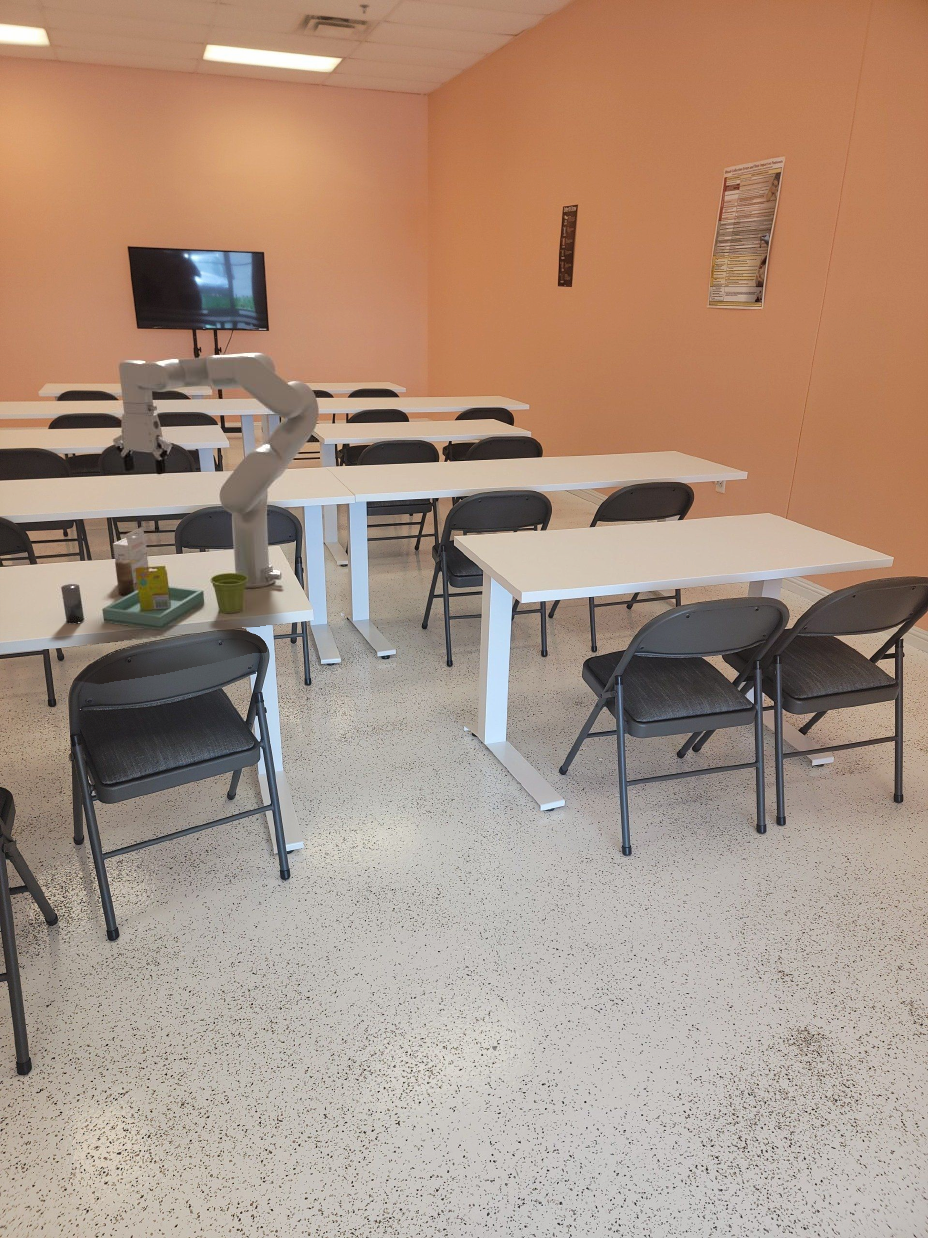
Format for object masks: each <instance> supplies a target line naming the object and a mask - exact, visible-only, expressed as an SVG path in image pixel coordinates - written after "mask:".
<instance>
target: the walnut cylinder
mask: <svg viewBox="0 0 928 1238" xmlns="http://www.w3.org/2000/svg"><path fill="white" fill-rule="evenodd" d="M114 564H115V571H116V572H115V573H116V581H117V587H118V589H117V591H118V595H119V596H121V597H125V596H127V595H129V594H131V593H133V592H135V591H136V590H135V584H134V582H133V573H132V565H131V561H130V560H118V561H116V562H114Z"/></svg>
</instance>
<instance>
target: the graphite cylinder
mask: <svg viewBox="0 0 928 1238" xmlns="http://www.w3.org/2000/svg"><path fill="white" fill-rule="evenodd" d="M60 588H61V589H60V590H61V595H62V596H61V597H62V600H63V608H64V615H65V621H66V623H67V624H69V623H76V624H79V623H78V622H81V623H83V622H84V621H85V617H84V609H83V603H82V596H81V589H80V585H79V584H76V583H68V584H65V585H61V587H60ZM83 620H84V621H83ZM82 621H83V622H82Z"/></svg>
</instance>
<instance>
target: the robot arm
mask: <svg viewBox="0 0 928 1238" xmlns="http://www.w3.org/2000/svg"><path fill="white" fill-rule="evenodd" d="M118 372H119V381H120V388H121V390H120V391H121V400H122V407H123V413H122V416H121V423H120V424H121V434H120V435H119V436H116V437H115V438H113V439H112V442H113V444H114V446H115V447H116V450H117V451H118V452H119V453H120V456H121V457H122V458H123V466H124V471H125V472H130V471H133V470H135V465H134V463H135V462H134V456H133V454H132V453H133V452H140V453H141V452H143V453H152V455H154V457H155V458H156V459H155V470H156V471H155V472H156V475H159V476H161V475H162V474H165V473H166V460H165V459H166V458H167V457H168V455H169V454H170V452H171V449H172V447H173V444H172V443H171V442H170V441H168V440H167V439H165V438H163V433H162V432H163V431H162V427H161V423H160V419H159V416H158V414H157V413H155V411H157V410H158V406H157V405H154V401H153V400H154V399H153V392H160V393H161V392H162V393H163V392H164V393H165V392H167V391H171V390H175V389H180V388H181V389H183V388H193V387H194V388H196V387H209V388H211V389H214V390H226V389H227V390H228V389H229V390H230V389H240V388H242V389H243V390H244V391H245V392H246V393H247V394H249V395H250V396H251V397H252V398H254V399H255V400H257V401H258V402H259V403H260V404H261V405H263V406H264V407H265V408H266V409H268V410H269V411H270V412H271V413H273V414H274V415H276V416H278V417H280V418H283V419H282V420H281V421H280V423H278V425H277V426H276V427H275V428H274V430H273V431H272V433H271V434H270V435H269V436H268V438H266V440H265V441H264V442H263V443H262V444H261V445H259V446H257V447H256V448H254V449H253V450H251V451H250V452H248V453H247V455H245V456H244V457H243V459H242V460H241V461H240V462H239V464H238V465H237V467H236V468H235V469H234V470H233V472H231V474H230V475H229V477H227V479H226V480H225V482H224V483H222V486H221V487H220V489H219V501H220V504H221V506H222V508H223V509H224V510H226V512H228V513H229V514H231V526H232V543H233V556H234V559H233V560H234V570H235V571H234V573H238V574H243V575H245V576H247V577H248V581H247V582H246V586H245V589H246V588H247V589H255V588H256V589H257V588H262V587H267V586H270V585H272V584H273V583H275V581H276V580H277V581H281V579H282V578H283V577H282V575H283V574H282V571H280V570H274V569H273V565H272V564H270V558H269V557H270V556H269V555H270V554H269V540H268V539H269V538H268V537H269V536H268V512H267V511H268V496H269V494H268V493H269V492H268V490H269V488H270V487H271V486H272V484H273V483H274V482H275V481H276V480H278V479H279V478H280V477H281V476H282V475H283V474H284V473H285V471H286V470H287V468H288V467H289V465H290V464H291V463H292V462H293V460H294V459H295V458H296V457H297V455H298V454H299V453H300V451H301V450H302V449H303V447H304V446H305V444H306V443H307V441H308V440H309V439H310V438H311V436H312V434H313V433H314V431H315V429H316V426H317V424H318V421H319V420H318V419H319V410H320V409H319V403H318V400H317V397H316V394H315V393H314V391H313V389H312V388H311V387H310V386H309V385H308V384H306V383H305V382H302V381H300V380H299V381H297V380H296V381H295V380H294V381H293V380H292V381H289V382H287V381H285V379H283V378H282V377H281V376H280V375H278V374H276V367H275V363H274V361H273V360H272V358H271V357H269V355H267V354H265V353H261V352H249V353H247V352H245V353H236V354H233V353H232V354H216V355H209V356H205V357H204V356H203V357H191V358H189V357H187V358H175V359H165V360H161V361H160V360H159V361H151V362H146V361H144V360H138V359H137V360H135V359H134V360H133V359H129V360H128V359H125V360H122V361H120V362H119V364H118Z"/></svg>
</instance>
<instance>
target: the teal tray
mask: <svg viewBox="0 0 928 1238" xmlns="http://www.w3.org/2000/svg"><path fill="white" fill-rule="evenodd" d="M169 594H170V602H171V608H170V609H156V610H144V611H141V610H140V602H139V594H138V589H137V590H135V592H133V593H131V594H129V595H127V596H123V597H122V598H120V599H118V600H116V601H115V602H112V603H110V604H109V605H107V606H105V607H103V608H102V609H101V610H102V617H103V622H104V623H107V622H112V623H111V624H115V623H117V624H116V625H122V624H123V626H131V627H138V628H144V629H145V628H146V629H152V630H158V631H163V630H164V629H166V628H168V627H169V626H170V625H172V624H173V623H175V622H177V621H178V620H180V619H182V618H183V617H185V616H186V615H187V614H189V613H191V612H192V611H194V610H195V609H198V607H201V606H202V605H203V604H205V596H204V595H205V594H204V589H203V590H202V589H195V588H186V587H179V586H171V585H169Z"/></svg>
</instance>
